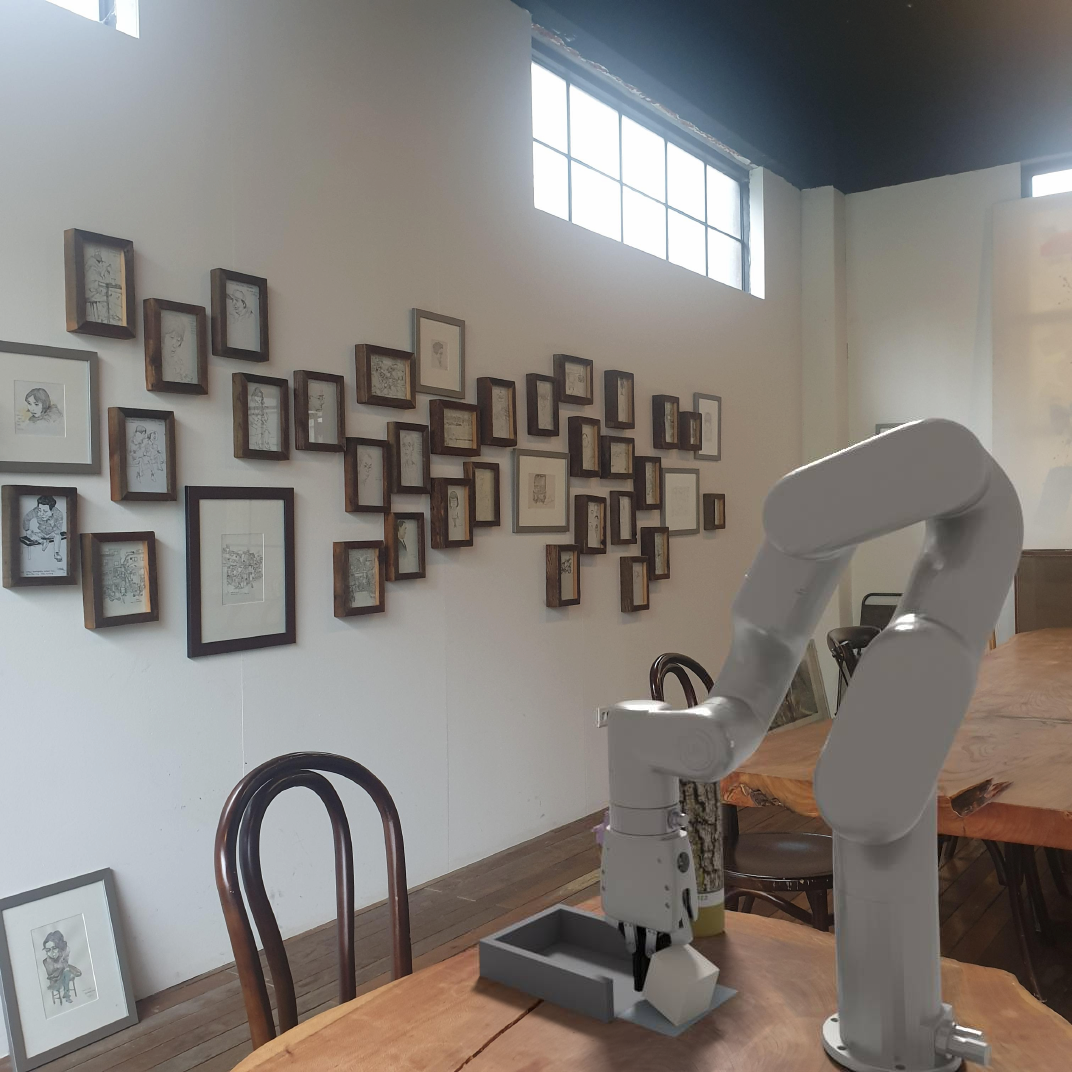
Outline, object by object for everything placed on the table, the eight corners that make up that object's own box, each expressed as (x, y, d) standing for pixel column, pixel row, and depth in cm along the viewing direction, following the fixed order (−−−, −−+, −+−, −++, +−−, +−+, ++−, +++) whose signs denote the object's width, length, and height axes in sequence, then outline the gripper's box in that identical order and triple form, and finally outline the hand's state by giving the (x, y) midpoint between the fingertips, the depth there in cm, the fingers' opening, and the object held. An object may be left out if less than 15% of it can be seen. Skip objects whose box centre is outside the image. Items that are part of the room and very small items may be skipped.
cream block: (707, 1010, 101) (719, 969, 100) (676, 1026, 98) (688, 985, 96) (672, 979, 104) (683, 940, 103) (641, 994, 101) (652, 954, 100)
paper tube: (725, 942, 119) (718, 738, 120) (669, 939, 121) (663, 738, 121) (725, 921, 126) (719, 728, 126) (672, 919, 127) (666, 728, 128)
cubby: (738, 995, 105) (737, 953, 105) (665, 1049, 94) (663, 1002, 94) (560, 939, 122) (559, 903, 122) (479, 979, 111) (478, 940, 111)
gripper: (723, 820, 102) (728, 995, 102) (609, 799, 112) (613, 958, 112) (685, 838, 97) (689, 1023, 96) (568, 813, 106) (572, 981, 106)
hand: (648, 988), depth 104 cm, fingers closed
